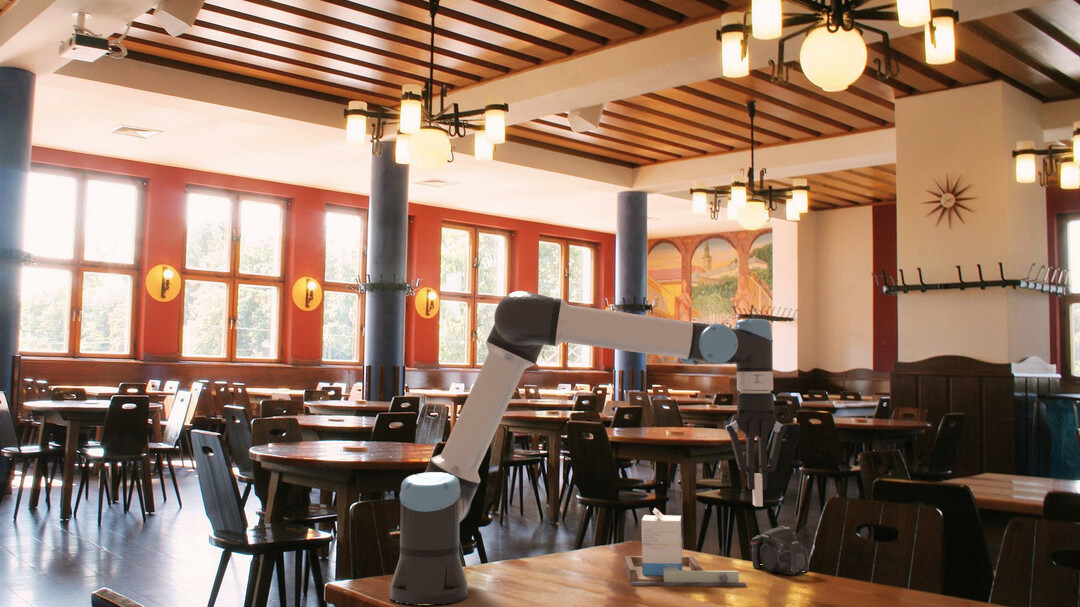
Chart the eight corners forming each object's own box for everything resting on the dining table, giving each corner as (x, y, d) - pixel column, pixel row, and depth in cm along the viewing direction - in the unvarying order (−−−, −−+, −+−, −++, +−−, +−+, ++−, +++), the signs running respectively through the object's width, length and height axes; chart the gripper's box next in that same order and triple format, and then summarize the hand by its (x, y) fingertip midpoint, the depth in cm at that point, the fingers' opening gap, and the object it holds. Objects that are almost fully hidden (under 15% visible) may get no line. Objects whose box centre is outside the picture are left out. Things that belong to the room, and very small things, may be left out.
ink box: (681, 577, 188) (680, 512, 190) (641, 575, 190) (641, 511, 191) (682, 568, 197) (681, 507, 198) (644, 567, 198) (643, 506, 200)
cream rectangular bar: (664, 585, 184) (664, 572, 184) (663, 583, 186) (663, 570, 186) (739, 585, 183) (739, 573, 184) (737, 583, 186) (737, 570, 186)
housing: (630, 585, 184) (630, 572, 185) (625, 567, 202) (624, 555, 202) (746, 586, 184) (745, 573, 184) (730, 568, 201) (729, 556, 201)
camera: (741, 571, 199) (740, 525, 200) (763, 564, 206) (762, 520, 207) (795, 580, 190) (794, 532, 190) (817, 573, 197) (816, 527, 198)
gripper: (727, 392, 185) (729, 507, 183) (790, 392, 185) (793, 508, 183) (721, 392, 192) (723, 502, 190) (781, 391, 192) (784, 503, 190)
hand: (757, 505), depth 186 cm, fingers closed
